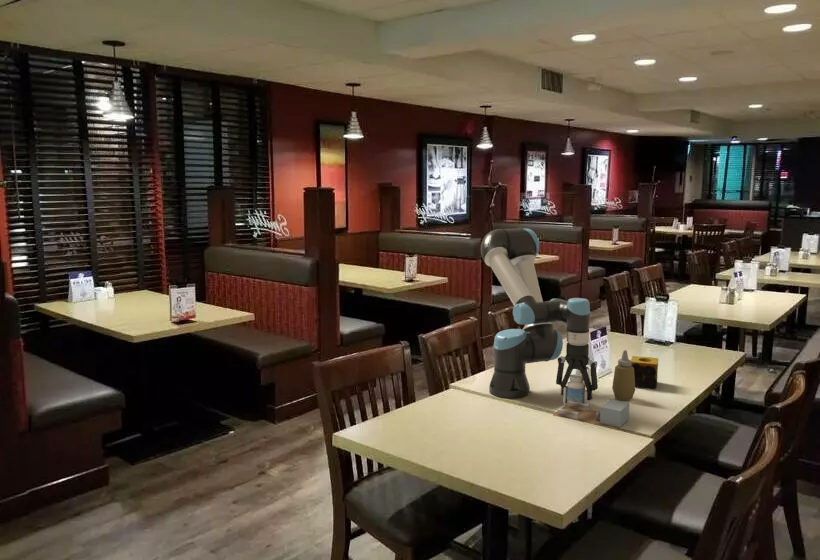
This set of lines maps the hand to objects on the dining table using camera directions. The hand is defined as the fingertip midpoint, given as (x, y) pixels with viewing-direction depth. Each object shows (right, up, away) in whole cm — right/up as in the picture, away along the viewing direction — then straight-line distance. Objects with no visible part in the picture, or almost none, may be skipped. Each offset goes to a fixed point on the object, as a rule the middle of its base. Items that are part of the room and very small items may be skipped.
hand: (576, 406), depth 229 cm
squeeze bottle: (+19, +1, +8) cm, 21 cm away
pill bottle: (0, 0, 0) cm, 0 cm away
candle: (+32, +4, +25) cm, 41 cm away
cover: (+8, -1, -18) cm, 20 cm away
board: (+1, -2, -13) cm, 13 cm away
